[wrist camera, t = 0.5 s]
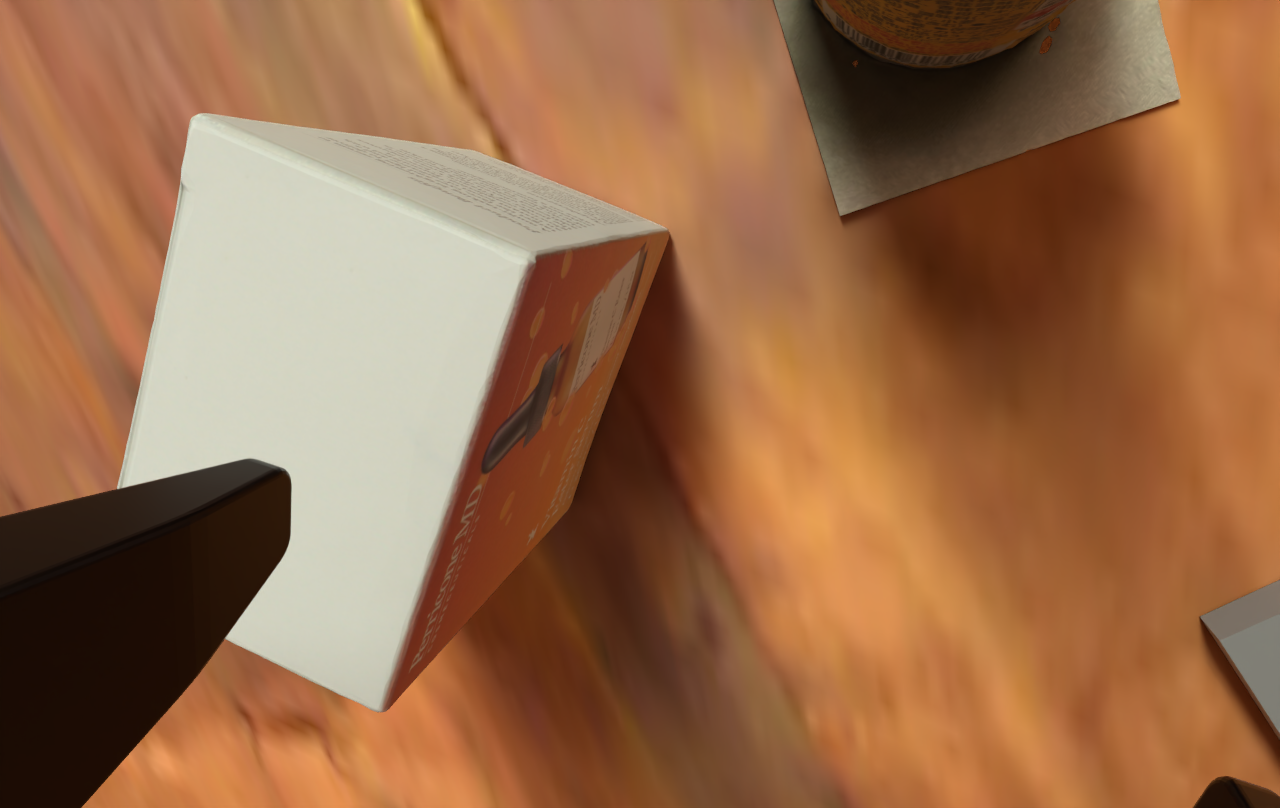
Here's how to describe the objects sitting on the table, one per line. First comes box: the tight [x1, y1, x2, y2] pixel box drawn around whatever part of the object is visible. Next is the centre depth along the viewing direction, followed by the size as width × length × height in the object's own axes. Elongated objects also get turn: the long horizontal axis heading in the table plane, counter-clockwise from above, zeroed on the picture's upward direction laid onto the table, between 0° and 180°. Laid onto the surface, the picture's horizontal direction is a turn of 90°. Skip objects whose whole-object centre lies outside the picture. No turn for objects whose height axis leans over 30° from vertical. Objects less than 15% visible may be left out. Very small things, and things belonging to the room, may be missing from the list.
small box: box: [117, 113, 669, 712], centre depth 19 cm, size 8×6×10 cm
